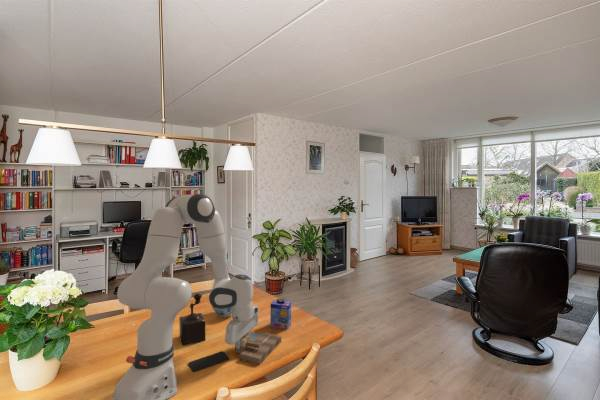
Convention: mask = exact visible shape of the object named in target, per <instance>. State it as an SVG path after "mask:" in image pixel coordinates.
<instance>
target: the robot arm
mask: <svg viewBox="0 0 600 400" xmlns="http://www.w3.org/2000/svg"><path fill="white" fill-rule="evenodd" d="M185 223H187V224H193V225H194V226H195V229H196V235H197V237H196V238H197V241H198V245H199V246H198V247H199V249H200V250H201V251H200V252H201V254H203V255H204V256H205V257H208V259H210V261H211V267H212V271H213V276H214V280H213V285H212V288H211V290H210V293H209V296H208V300H209V304H210V305H211V307H212V306H213V307H215V308H218V309H222V308H228V307H232V314H231V318H232V319H231V320H230V321H229V322H228V324H227V326H226V327H225V335H224V337H225V338H224V342H225V344H228V345H231V346H232V345H235V344H236V348H238V349H239V348H240V347H241V343H240V342H239V341H240V339H241V338H242V337H243V336H244V335H247V336H249V334H250V331H251V332H252V330H253V329H254V328H256V327H257V326H258V323H259V309H260V307H259V306H258V305H254V303H253V299H254V298H253V297H254V283H253V281H252V280H253V279H252V278H250V276H248V275H246V274H235V275H234V276H233V277H231V275H230V273H229V270H228V269H229V267H228V264H227V258H226V251H227V250H226V244H227V243H226V242H227V240H226V232H225V228H224V227H225V226H224V223H223V221H222V217H221V215H220V212H219V211H218V210H216V209H215V204H214V202H213V200H212V198H211V197H210V196H208V195H207V194H202V193H196V194H183V195H180V196H175V197H173V198H171V199H169V201H168V202H167V203H166V204H165V206H164V207H159V208H158V209H156V210H155V211H154V214H153V216H152V219H151V222H150V225H149V227H148V228H149V229H148V231H147V238H146V243H145V246H144V247H145V248H144V250H143V256H142V258H141V261H140V262H139V264H138V266H137V267H136V269H135V270H134V272H132V273H131V274H130V275H129V276H128V277H126V278H125V279H123V280H122V281H121V283H120V284H119V286H118V288H117V294H116V295H117V300H118V302H119V303H120V304H121V305H123V306H127V307H130V308H133V309H143V310H150V311H151V312H150V313H151V315H150V317H149V318H148V319H145V320H144V321H143V322H141V324H140V325H139V327H138V328H137V334H136V336H137V337H136V338H137V342H136V343H137V345H136V346H137V347H136V348H137V349H136V350H135V355H134V356H132V355H128V356H126V359H125V362H126V363H128V364H131V366H130V367H128V368H129V369H128V370H127V371H126V372H125V373H124V374H123V376H122V377H121V379H120V380H119V381H118V383H117V384H116V385H115V387H114V393H113V397H112V398H110V399H109V400H166V399H167V400H169V399H170V398H172V397H173V396H175V395H176V394H177V393H178V387H177V386H178V378H177V376H176V375H177V374H176V371H175V365H174V354H175V353H174V352H175V346H174V345H175V344H174V342H173V335H174V334H173V331H174V323H175V320H176V318H177V315H178V314H179V313H180V312H181V311H182V310H184V309H185V308H186V307H187V306H188V305H189V303H190V301H191V300H192V295H193V290H192V286H191V284H190V283H189V281H187V280H184V279H180V278H177V277H169V276H168V277H165V276H162V274H163V272H164V270H165V269H166V267H168V266H170V265H173V264H174V263H175V262H176V261H177V259H178V256H179V250H180V243H181V238H182V237H181V236H182V230H183V227H184V225H185ZM168 398H169V399H168Z"/></svg>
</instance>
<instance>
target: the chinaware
mask: <svg viewBox="0 0 600 400" xmlns="http://www.w3.org/2000/svg"><path fill="white" fill-rule="evenodd" d="M211 307H212V310H213V311H214V312H215V313H216V314H217V315H218V316H219V317H220V318H228V317H232V307H228V308H222V309H218V308H215V307H213V306H212V305H211Z"/></svg>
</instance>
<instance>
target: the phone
mask: <svg viewBox="0 0 600 400" xmlns="http://www.w3.org/2000/svg"><path fill="white" fill-rule="evenodd" d="M229 360H230V357H229V356H228V354H226V352H225V351H222V350H221V351H218V352H216V353H212V354H209V355H206V356H203V357H200V358H198V359H194V360H191V361H189V362H188V363H187V365H188V367H189V368H190V371H191V372H193V373H196V372H199V371H201V370H205V369H208V368H210V367H213V366H215V365H219V364H222V363H224V362H227V361H229Z"/></svg>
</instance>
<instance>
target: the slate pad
mask: <svg viewBox="0 0 600 400" xmlns="http://www.w3.org/2000/svg"><path fill="white" fill-rule="evenodd" d="M262 334H263V333H259V332H254V331H252V330H251V331H250V334H249V336H250V340H251V341H255V340H256V339H257V338H258V337H260V336H261V335H262Z"/></svg>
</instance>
